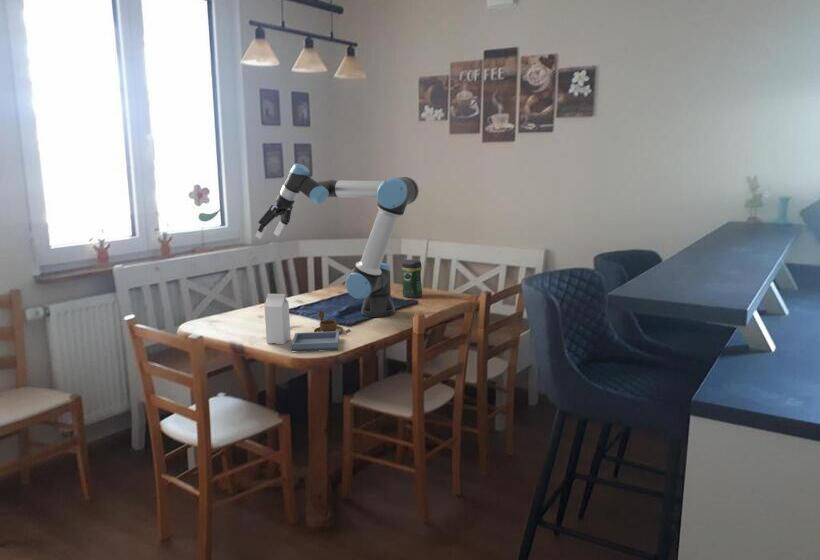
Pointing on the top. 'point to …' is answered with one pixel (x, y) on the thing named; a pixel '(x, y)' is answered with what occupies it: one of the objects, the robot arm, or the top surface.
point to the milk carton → (277, 319)
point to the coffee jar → (412, 278)
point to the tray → (315, 341)
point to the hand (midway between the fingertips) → (267, 236)
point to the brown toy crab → (328, 325)
